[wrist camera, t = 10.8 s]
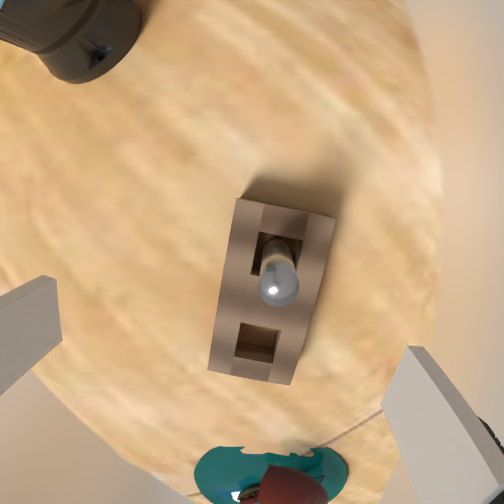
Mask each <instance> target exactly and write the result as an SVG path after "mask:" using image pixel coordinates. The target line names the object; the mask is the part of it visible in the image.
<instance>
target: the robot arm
mask: <svg viewBox="0 0 504 504" xmlns="http://www.w3.org/2000/svg"><path fill="white" fill-rule="evenodd" d="M141 23H142V14H141V10H140V8H139V6H138V5H137V3H136V2H135V1H134V0H0V40H3V41H5V42H8V43H10V44H13V45H15V46H18V47H20V48H23V49H25V50H28V51H30V52H32V53H35V54H37V55H38V56H39V58H40V59H41V60H42V62H43V63H44V64H45V66H46V67H47V68H48V69H49V71H50V72H51V73H52V74H53V75H54V76H55V77H56V78H58V79H60V80H63V81H65V82H67V83H71V84H81V83H85V82H89V81H91V80H94V79H96V78H98V77H100V76H101V75H103V74H104V73H106V72H107V71H109V70H110V69H111V68H113V67H114V66H115V65H116V64H117V63H118V62H119V61H120V60H121V59H122V58H123V57H124V56H125V55H126V53H127V52H128V51H129V49H130V48H131V47H132V45H133V43H134V42H135V40H136V38H137V36H138V33H139V31H140V27H141ZM61 341H62V333H61V325H60V317H59V308H58V297H57V283H56V279H54V278H51V277H48V276H45V275H42V276H40V277H38V278H35V279H33V280H31V281H29V282H27V283H25V284H23V285H21V286H20V287H18V288H16V289H14V290H12V291H10V292H8V293H6V294H4V295H2V296H0V396H1V395H2V394H3V393H4V392H5V391H6V390H7V389H8V388H10V387H11V386H12V385H13V384H14V383H15V382H16V381H17V380H18V379H19V378H20V377H21V376H23V375H24V374H25V373H26V372H27V371H28V370H29V369H30V368H31V367H33V366H34V365H35V364H36V363H37V362H38V361H39V360H40V359H42V358H43V357H44V356H45V355H46V354H47V353H48V352H50V351H51V350H52V349H53V348H54V347H55V346H57V345H58V344H59V343H60V342H61ZM380 404H381V406H382V409H383V411H384V413H385V416H386V418H387V421H388V423H389V425H390V428H391V430H392V433H393V435H394V437H395V440H396V442H397V445H398V447H399V450H400V452H401V455H402V457H403V460H404V463H405V465H406V468H407V470H408V473H409V476H410V478H411V481H412V484H413V486H414V489H415V492H416V495H417V497H418V500H419V503H420V504H504V448H503V446H500V444H501V443H500V441H499V440H498V438H495V434H494V433H493V431H492V430H491V429H490V427H489V426H488V424H486V423H485V422H484V421H483V420H481V419H480V418H479V417H478V416H476V414H475V413H474V411H473V410H472V409H471V407H470V406H469V405H468V403H467V402H466V401H465V399H464V398H463V396H462V395H461V394H460V393H459V391H458V390H457V389H456V387H455V386H454V385H453V383H452V382H451V381H450V379H449V378H448V377H447V376H446V374H445V373H444V372H443V371H442V369H441V368H440V367H439V365H438V364H437V363H436V362H435V360H434V359H433V358H432V357H431V356H430V354H429V353H428V352H427V351H426V349H425V348H424V347H420V346H407V347H406V349H405V352H404V354H403V356H402V359H401V361H400V363H399V365H398V368H397V370H396V372H395V374H394V376H393V378H392V381H391V383H390V385H389V387H388V389H387V391H386V393H385V395H384V397H383V399H382V401H381V403H380Z"/></svg>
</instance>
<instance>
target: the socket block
mask: <svg viewBox="0 0 504 504" xmlns="http://www.w3.org/2000/svg"><path fill="white" fill-rule="evenodd" d="M335 222H336V219H334V218H332V217H330V216H327V215H322V214H318V213H313V212H309V211H304V210H300V209H295V208H290V207H285V206H281V205H276V204H271V203H266V202H261V201H256V200H250V199H245V198H237V199H236V204H235V209H234V215H233V220H232V225H231V231H230V237H229V242H228V248H227V253H226V259H225V265H224V271H223V276H222V282H221V288H220V294H219V300H218V306H217V312H216V318H215V325H214V331H213V337H212V344H211V350H210V357H209V363H208V370H210V371H215V372H219V373H224V374H228V375H233V376H238V377H243V378H248V379H254V380H259V381H265V382H271V383H277V384H284V385H290V384H291V381H292V378H293V375H294V372H295V368H296V365H297V362H298V359H299V356H300V353H301V350H302V346H303V343H304V340H305V337H306V333H307V330H308V326H309V323H310V320H311V316H312V313H313V309H314V305H315V302H316V298H317V295H318V291H319V287H320V283H321V280H322V276H323V272H324V268H325V264H326V260H327V256H328V252H329V248H330V243H331V239H332V235H333V231H334V226H335ZM259 231H260V232H265V233H270V234H274V235H279V236H284V237H289V238H294V239H299V243H298V247H297V252H296V256H295V261H294V267H295V270H296V274H297V277H298V281H299V292H298V295H297V297H296V298H295V299H294V300H293V301H292V302H291V303H289V304H287V305H285V306H272V305H270V304H268V303H266V302H265V301H264V300H263V299H262V298H261V296H260V294H259V291H258V283H259V276H260V269H261V268H260V267H255V266H253V261H254V256H255V251H256V246H257V240H258V235H259ZM241 323H246V324H251V325H256V326H261V327H266V328H272V329H277V334H276V338H275V342H274V346H273V349H271V348H266V347H261V346H255V345H250V344H245V343H240V342H237V341H238V336H239V331H240V326H241Z"/></svg>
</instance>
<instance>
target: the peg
mask: <svg viewBox="0 0 504 504" xmlns="http://www.w3.org/2000/svg"><path fill="white" fill-rule="evenodd" d="M258 291H259V294H260V296H261V298H262V299H263V300H264V301H265V302H266V303H268V304H270V305H272V306H285V305H287V304H289V303H291V302H292V301H293V300H294V299H295V298H296V297H297V295H298V292H299V281H298V277H297V274H296V270H295V267H294V263H293V260H292V256H291V253H290V249H289V247H288V245H287V244H286V243H285V242H284V241H282V240H278V239H275V240H271V241H269V242H268V243H267V244H266V245H265V247H264V249H263V255H262V262H261V269H260V276H259V283H258Z"/></svg>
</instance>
